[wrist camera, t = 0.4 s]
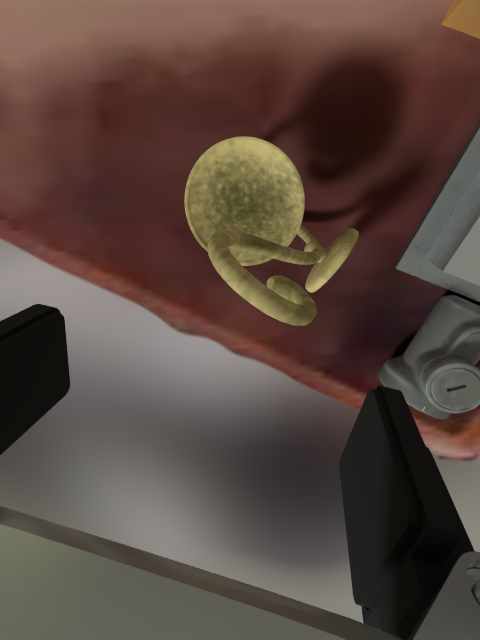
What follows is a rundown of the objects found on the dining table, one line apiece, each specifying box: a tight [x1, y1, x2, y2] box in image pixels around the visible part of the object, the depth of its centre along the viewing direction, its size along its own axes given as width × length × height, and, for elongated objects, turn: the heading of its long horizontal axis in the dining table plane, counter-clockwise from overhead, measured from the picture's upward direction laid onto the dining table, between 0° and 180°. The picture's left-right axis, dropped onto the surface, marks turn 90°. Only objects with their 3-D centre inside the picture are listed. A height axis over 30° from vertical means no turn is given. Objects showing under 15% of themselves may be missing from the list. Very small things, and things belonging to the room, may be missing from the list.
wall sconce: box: [185, 137, 359, 325], centre depth 24 cm, size 14×10×25 cm
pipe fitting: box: [378, 295, 480, 419], centre depth 34 cm, size 12×8×10 cm
